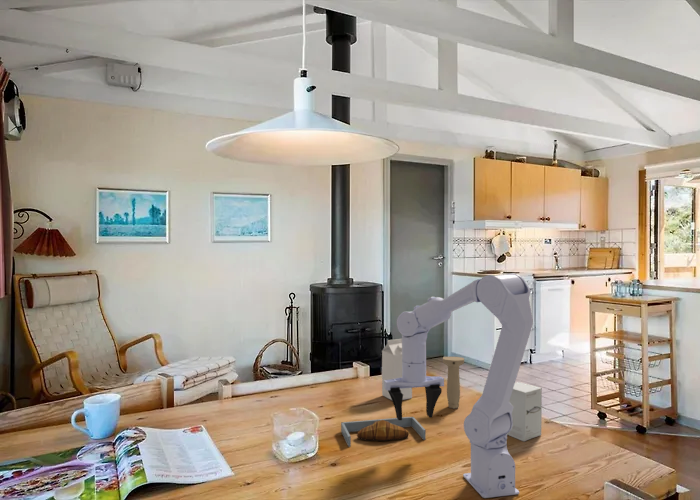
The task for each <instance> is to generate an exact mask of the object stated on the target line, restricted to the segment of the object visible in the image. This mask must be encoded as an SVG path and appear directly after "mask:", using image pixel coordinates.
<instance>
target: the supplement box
mask: <svg viewBox="0 0 700 500" xmlns="http://www.w3.org/2000/svg"><path fill="white" fill-rule="evenodd" d="M542 391H543V390H542V387H539V386H535V385H532V384H528V383H525V382H521V381H516V382H515V384H514V387H513V391H512V394H511V397H510V400H509V402H510V403H511V404H512V406H513V411H512V420H513V426H512V429H511V430H510V432H508V433H507V436H509V437H512V438H513V439H517V440H519V441H521V442H526V441H528V440H532V439H533V438H536V437H540V436H541V435H542V419H543V418H542V414H543V413H542V412H543V411H542V409H543V408H542V402H543V401H542V400H543V399H542V397H543V396H542Z"/></svg>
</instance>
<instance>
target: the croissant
mask: <svg viewBox="0 0 700 500" xmlns="http://www.w3.org/2000/svg"><path fill="white" fill-rule="evenodd" d="M409 434H410V433H409V430H407V429H406V428H405V427H400V426H397V425H394V424H391V423H389V422H388V421H384V420H381V421H376V422H375V423H373V424H372V425H369V426H367V427H365V428H363V429H361V430H360V431H357V434H356V437H357V439H358V440H362V441H373V442H374V441H378V442H388V441H389V442H390V441H398V440H404V439H408V438H409V436H410V435H409Z"/></svg>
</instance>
